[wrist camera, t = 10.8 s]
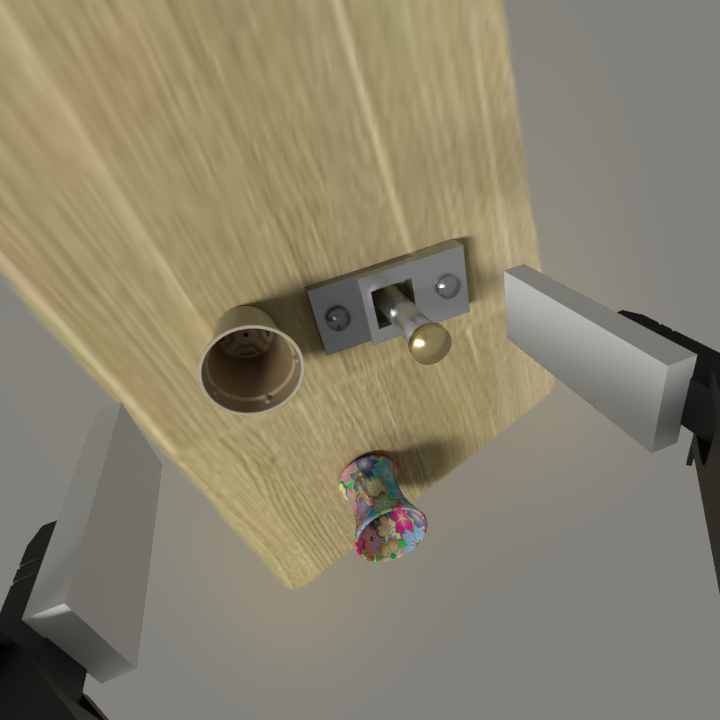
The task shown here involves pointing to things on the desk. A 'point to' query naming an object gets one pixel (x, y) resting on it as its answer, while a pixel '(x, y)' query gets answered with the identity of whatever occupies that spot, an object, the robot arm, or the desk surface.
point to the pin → (414, 326)
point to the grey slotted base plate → (353, 290)
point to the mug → (380, 510)
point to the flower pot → (250, 364)
